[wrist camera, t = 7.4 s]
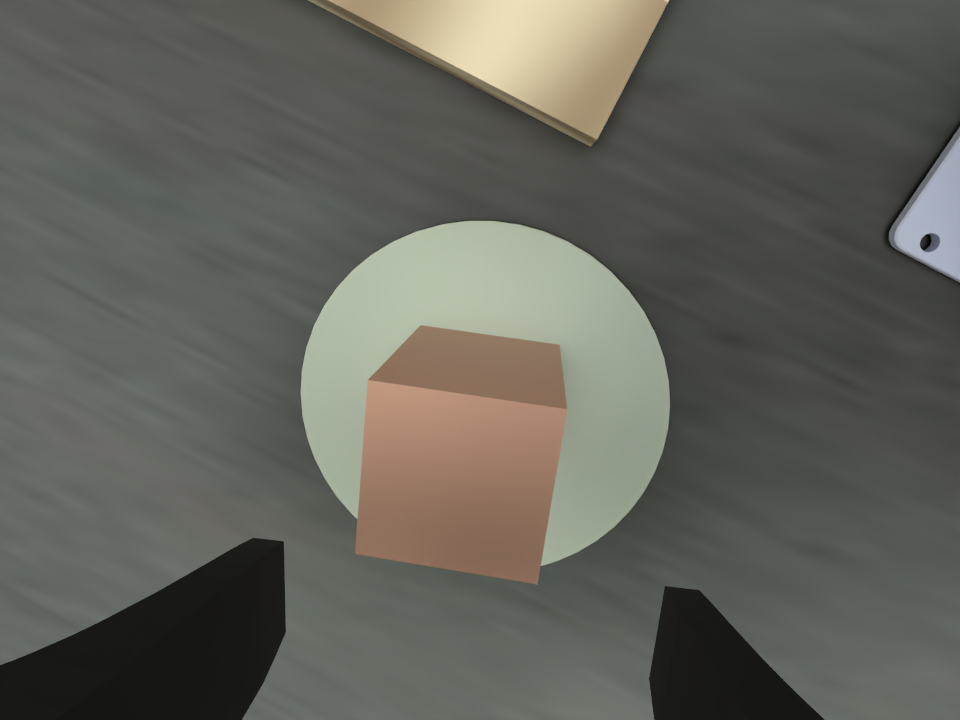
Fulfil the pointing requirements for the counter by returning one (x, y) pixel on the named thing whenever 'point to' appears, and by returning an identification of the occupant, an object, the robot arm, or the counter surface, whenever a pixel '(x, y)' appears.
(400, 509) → the terracotta block
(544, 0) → the maple pocket holder
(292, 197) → the counter surface
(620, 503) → the sage coaster
